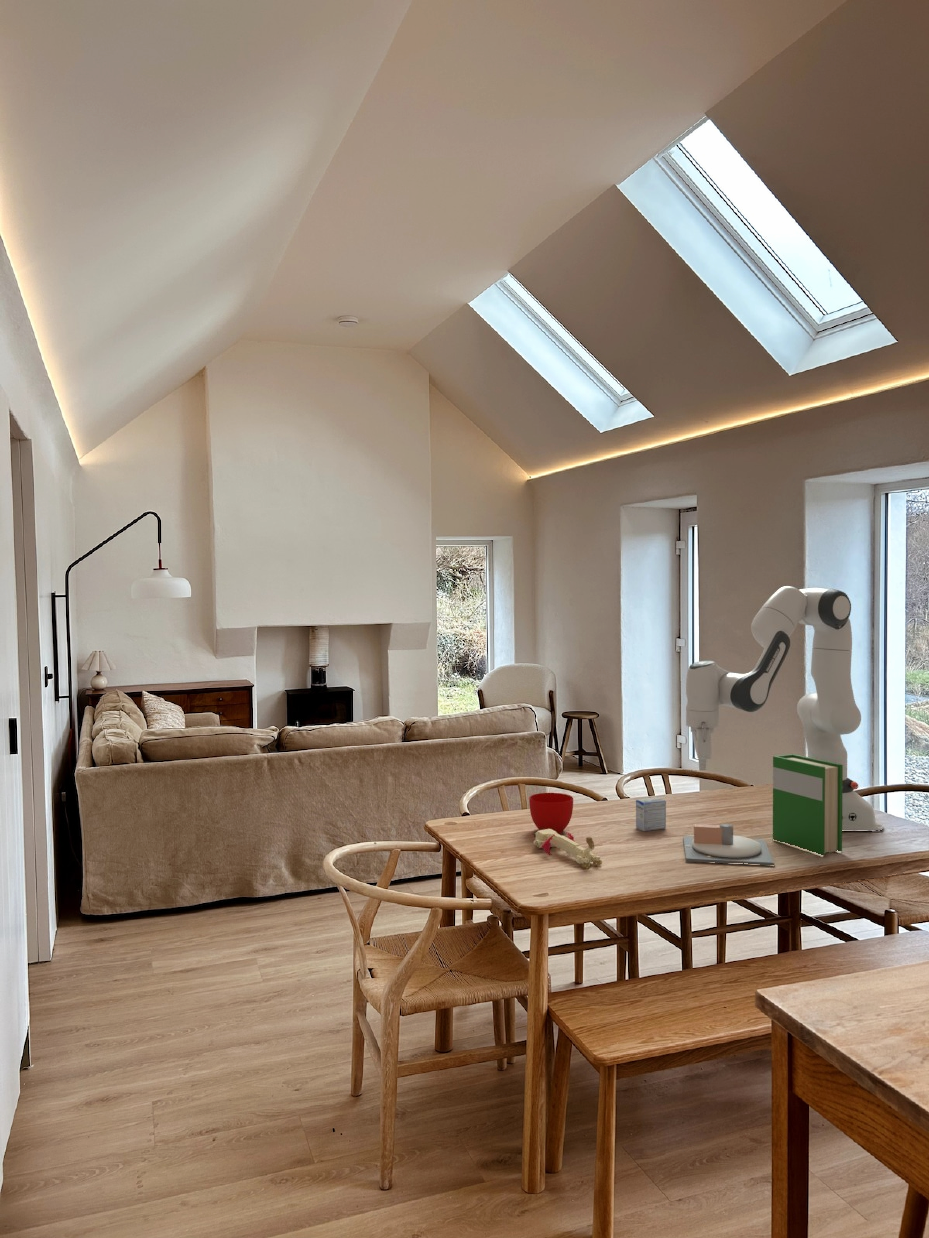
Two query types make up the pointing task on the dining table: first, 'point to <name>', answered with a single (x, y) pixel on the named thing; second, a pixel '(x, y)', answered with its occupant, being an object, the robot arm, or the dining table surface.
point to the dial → (723, 842)
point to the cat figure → (567, 846)
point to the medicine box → (650, 814)
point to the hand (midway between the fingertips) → (702, 769)
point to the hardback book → (807, 803)
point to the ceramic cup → (551, 810)
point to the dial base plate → (696, 856)
